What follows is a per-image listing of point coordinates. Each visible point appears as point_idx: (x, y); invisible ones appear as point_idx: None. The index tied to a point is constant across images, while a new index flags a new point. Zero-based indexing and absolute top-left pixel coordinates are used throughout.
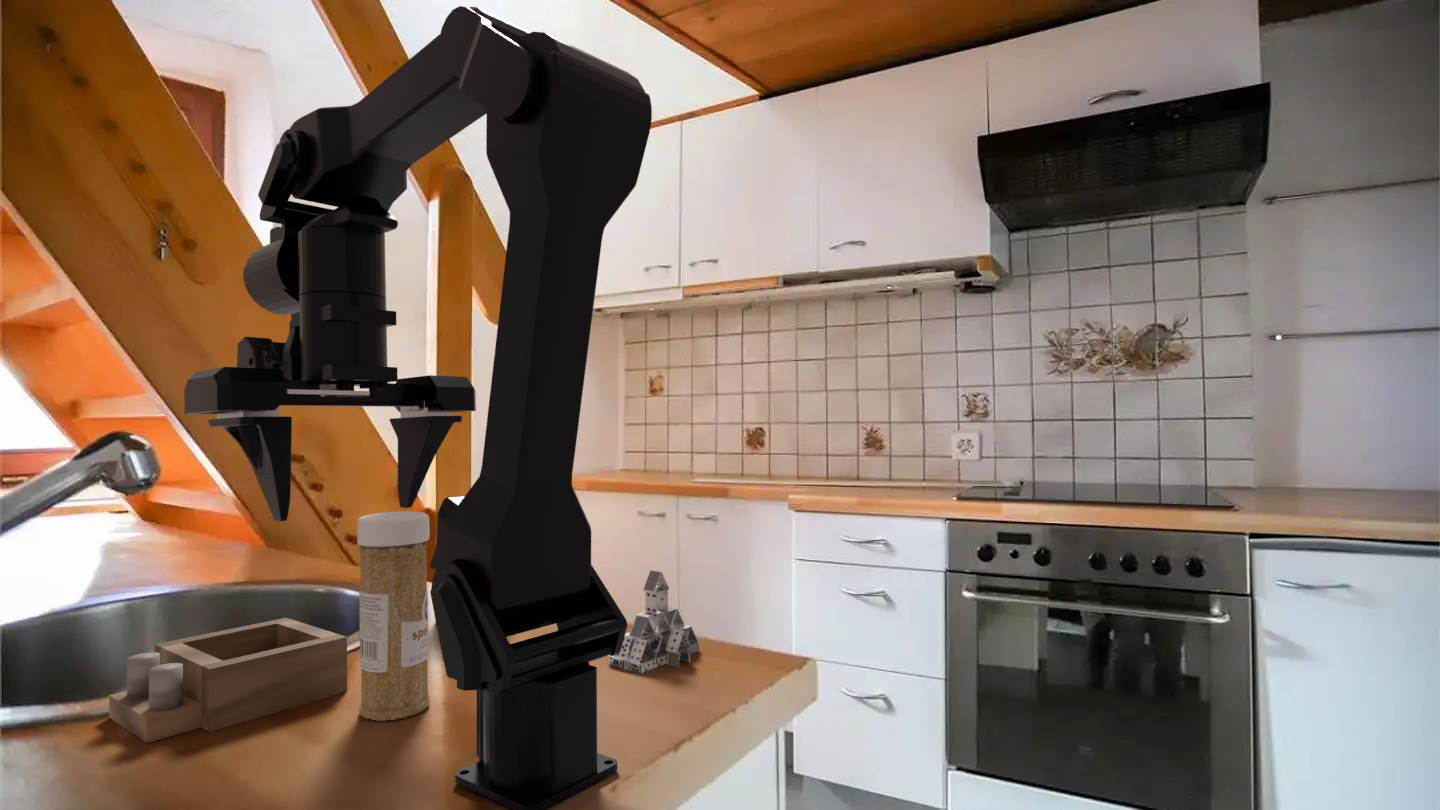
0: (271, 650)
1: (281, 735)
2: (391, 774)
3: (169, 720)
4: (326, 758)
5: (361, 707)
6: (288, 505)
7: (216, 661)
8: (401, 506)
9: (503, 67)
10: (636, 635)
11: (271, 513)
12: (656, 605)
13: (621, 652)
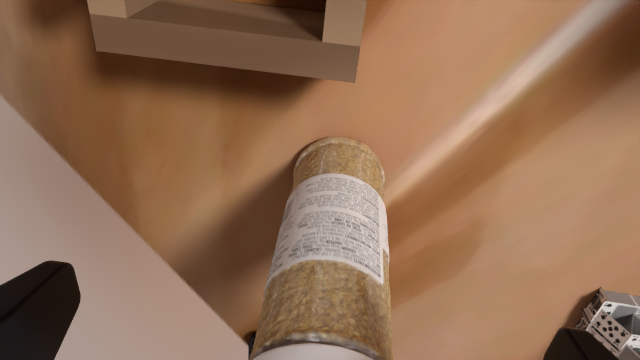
0: (215, 36)
1: (207, 119)
2: (233, 282)
3: None
4: (212, 214)
5: (296, 167)
6: (51, 357)
7: (116, 12)
8: (558, 335)
9: None
10: (621, 356)
11: (25, 272)
12: None
13: (603, 323)
